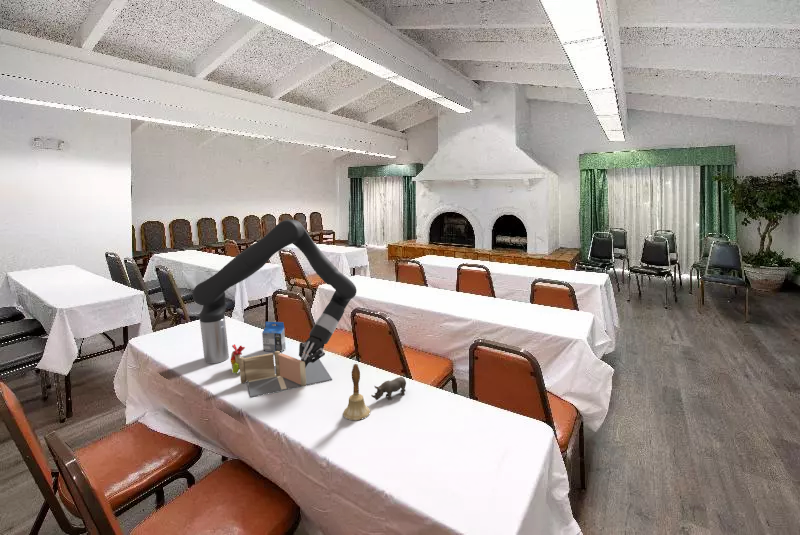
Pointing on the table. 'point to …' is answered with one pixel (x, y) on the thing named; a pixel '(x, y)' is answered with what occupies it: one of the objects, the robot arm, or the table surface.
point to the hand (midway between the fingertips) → (299, 370)
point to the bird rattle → (236, 358)
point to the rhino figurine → (390, 388)
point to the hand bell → (356, 399)
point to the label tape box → (274, 337)
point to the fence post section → (258, 367)
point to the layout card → (279, 383)
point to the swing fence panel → (292, 369)
